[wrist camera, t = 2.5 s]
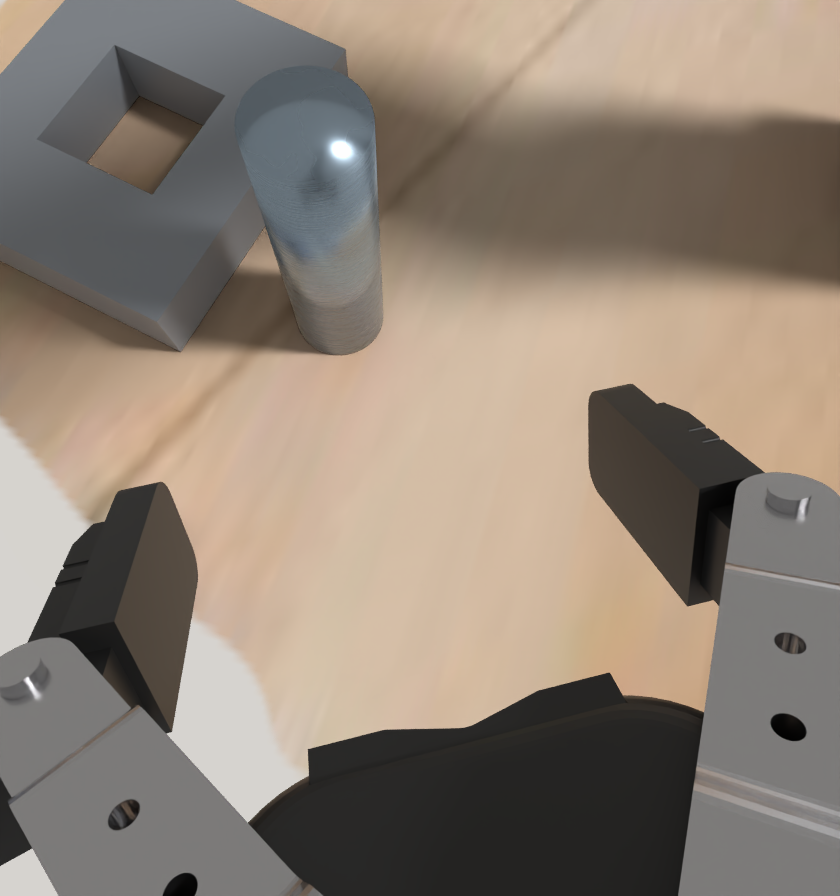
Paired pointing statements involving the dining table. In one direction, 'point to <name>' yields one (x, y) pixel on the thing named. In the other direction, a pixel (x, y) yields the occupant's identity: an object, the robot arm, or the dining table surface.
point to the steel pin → (318, 199)
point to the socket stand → (115, 201)
